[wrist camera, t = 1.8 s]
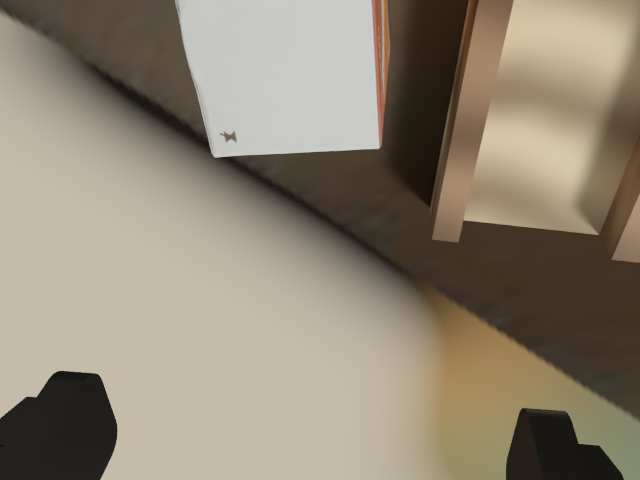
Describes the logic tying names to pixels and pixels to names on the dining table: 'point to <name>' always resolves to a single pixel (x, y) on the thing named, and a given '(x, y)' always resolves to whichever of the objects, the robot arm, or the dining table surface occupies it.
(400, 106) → the dining table surface
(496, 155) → the slot rack
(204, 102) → the small box
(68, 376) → the robot arm
